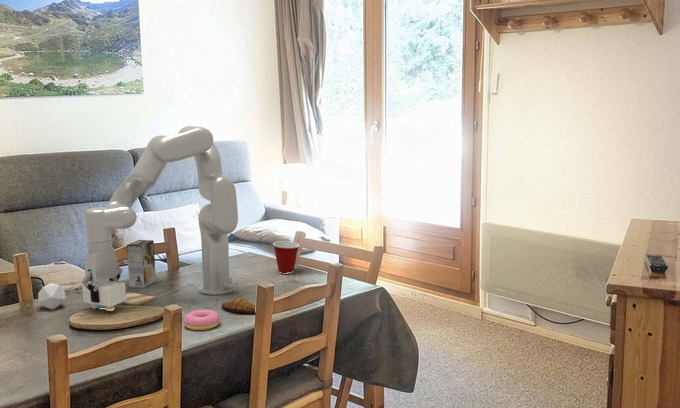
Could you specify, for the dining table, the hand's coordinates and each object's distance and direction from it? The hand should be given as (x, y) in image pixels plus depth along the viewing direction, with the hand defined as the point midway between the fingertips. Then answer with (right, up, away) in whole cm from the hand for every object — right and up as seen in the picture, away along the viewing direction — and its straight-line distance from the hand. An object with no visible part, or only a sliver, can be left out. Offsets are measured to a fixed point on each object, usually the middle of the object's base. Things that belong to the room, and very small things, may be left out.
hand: (104, 298), depth 217 cm
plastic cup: (+56, +3, +47) cm, 73 cm away
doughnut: (+35, -7, -15) cm, 39 cm away
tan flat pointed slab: (+6, -2, +12) cm, 13 cm away
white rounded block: (0, -1, 0) cm, 1 cm away
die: (-19, -4, +4) cm, 19 cm away
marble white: (-4, -4, +2) cm, 5 cm away
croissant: (+44, -4, -1) cm, 45 cm away
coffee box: (+3, +1, +31) cm, 31 cm away
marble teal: (-1, -4, 0) cm, 4 cm away
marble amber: (+2, -4, -1) cm, 5 cm away
